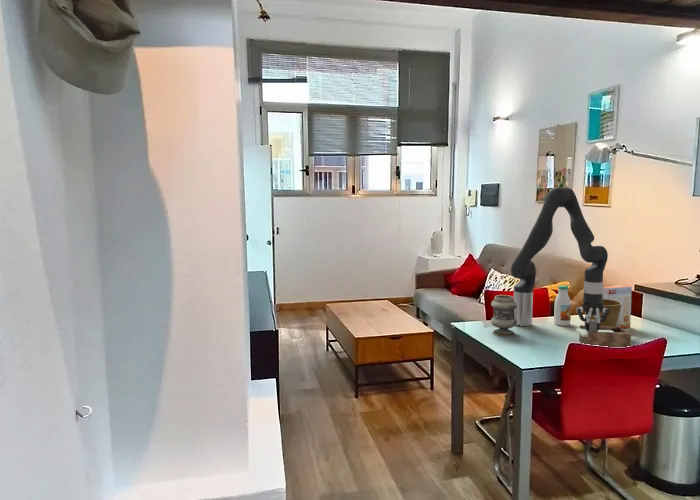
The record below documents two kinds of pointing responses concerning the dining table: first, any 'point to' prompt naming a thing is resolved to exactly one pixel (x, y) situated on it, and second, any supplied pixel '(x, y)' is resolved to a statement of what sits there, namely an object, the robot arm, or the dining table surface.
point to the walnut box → (607, 337)
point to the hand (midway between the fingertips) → (591, 330)
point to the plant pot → (613, 314)
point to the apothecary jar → (504, 314)
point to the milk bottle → (562, 307)
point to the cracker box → (623, 296)
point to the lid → (591, 329)
